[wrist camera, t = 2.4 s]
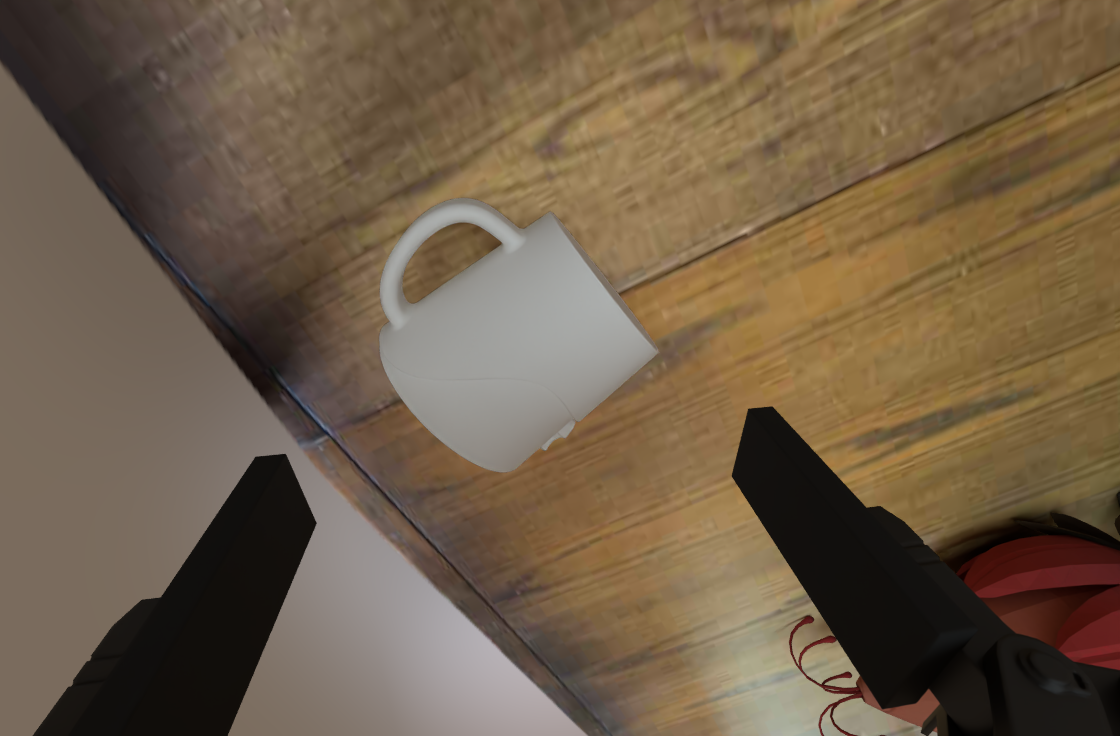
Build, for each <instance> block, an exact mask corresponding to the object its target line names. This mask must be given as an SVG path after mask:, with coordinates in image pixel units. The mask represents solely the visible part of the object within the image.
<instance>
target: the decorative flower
mask: <svg viewBox="0 0 1120 736" xmlns="http://www.w3.org/2000/svg"><path fill="white" fill-rule="evenodd" d="M1051 515H1052V518H1053V520H1054V522H1055V523H1056V525H1057V526H1058V527H1055V526H1051V525H1046V524H1041V523H1035V522H1026V521H1015V522H1017V523H1019V524H1021V525H1023V526H1025V527H1028V528H1030V529H1032V530H1035V531H1038V532H1042V533H1045V534H1048V535H1043V536H1035V537H1028V538H1021V539H1017V540H1013V541H1010V542H1007V543H1003V544H1000V545H997V546H995V547H993V548H991V549H990V550H988V551H987V552H985V553H982V554H979V555H977V556H976V557H974V558H973V559H971V560H969V561H968V562H966V563H965V564H963V565H962V566H961V568H960V569H959V571H958V572H957V574H956V575H957V576H958V577H959V578H960V579H961V580H962V581H963V582H964V583H965V584H966V585H967V586H968V587H969V588H970V589H971V590H972V591H973V592H974V593H975V594H976V595H977V596H978V597H979V598H980V599H981V600H982V601H983V602H984V603H985V604H986V605H987V606H988V607H989V608H990V609H991V610H992V611H993V612H994V613H995V614H996V615H997V616H998V617H999V618H1000V619H1001V620H1002V621H1003V622H1004V623H1005V624H1006V625H1007V626H1008V627H1009V628H1011V629H1012V630H1013V631H1014V632H1015V633H1016V634H1023V635H1026V636H1030V637H1033V638H1037V639H1039V640H1041V641H1043V642H1045V643H1046V644H1048V645H1050V646H1052V647H1054V648H1056V649H1057V650H1059V651H1060V652H1061V653H1063V654H1064V655H1065V656H1067V657H1068V658H1069V659H1071V660H1072V661H1074V662H1080V663H1085V664H1090V665H1096V666H1101V667H1106V668H1112V669H1117V670H1120V542H1119V541H1118V540H1116V539H1115V538H1113V537H1112V536H1110V535H1109V534H1107V533H1105V532H1103V531H1101V530H1099V529H1097V528H1095V527H1093V526H1091V525H1089V524H1087V523H1085V522H1083V521H1081V520H1078V519H1076V518H1073V517H1071V516H1068V515H1065V514H1058V513H1051ZM1115 527H1116V529H1117V531H1118V533H1119V535H1120V515H1119V516H1118V517H1117V518H1116V519H1115ZM813 621H814V618H813V617H811V616H807V617H806V618H805V619H803V620H802V621H801V622H800V623H798V624H797V625H796V626H795V628H794V629H793V631H792V632H791V635H790V640H789V645H790V652H791V655H792V657H793V659H794V662H795V664H796V666H797V667H798V668H799V669H800V670H801V672H802V673H803V674H804V675H805V676H806V678H807V679H809V680H810V681H812V682H814V683H815V684H817V685H819V686H820V687H822V688H823V689H824V690H825V691H827V692H831V693H835V694H854V695H851V696H849V697H846V698H843V699H840V700H839V701H838V702H835V703H833V704H830V705H828V707H827V708H826V709H825V710H824V712H823V713H822V714H821V716H820V720H819V729H820V733H821V735H822V736H824V735H823V733H822V729H821V721H822V717H823V715H824V714H825V713H826V712H827V711H828V709H829V708H830V707H832V706H833V707H832V709H831V714H830V718H831V720H832V723H833V725H834V726H835V727H836V728H837V729H838V730H839V731H840V732H842V733H844V734H845V735H847V736H858V735H853V734H850V733H848V732H846V731H844V730H842V729H840V728H839V727H838V726H837V725H836V724H835V722H834V720H833V717H832V715H833V711H834V709H835V708H836V707H837V706H838V705H839V704H840V703H842V702H845V701H848V700H850V699H855V698H862V699H863V701H864V702H865V703H867V704H869V705H871V706H873V707H875V708H877V709H879V710H881V711H883V712H885V713H887V714H890V715H892V716H895V717H897V718H900V719H902V720H905V721H907V722H910V723H912V724H915V725H917V726H920V727H922V725H923V722H924V721H925V720H926V719H927V718H928V717H929V716H930V714H931V713H932V712H933V711H934V710H935V709H936V708H937V707H938V706H939V704H940V703H939V702H938V700H937V699H936V698H935V696H934V695H933V694H932V692H931V691H930V690H929V689H928V690H927V692H926V693H925V694H924V695H923V696H922V697H921V699H920V700H919V701H918V702H917V703H916V704H911V705H905V706H900V707H894V708H888V709H883V710H882V709H881V707H880V705H879V704H878V702H877V701H876V699H875V698H874V696H873V695H872V693H871V691H870V690H869V688H868V687H867V685H866V684H865V682H864V681H863V679H862V678H861V676H860V677H859V678H858V680H857V681H856V685H857V687H854V688H841V687H835V686H828V685H824V684H825V683H826V682H828V681H830V680H833V679H837V678H851V677H852V674H851V673H850V672H845V673H843V674H840V675H836V676H833V677H830V678H828V679H826V680H825V681H824V682H823V683H822V684H819V683H818V682H816V681H815V680H813V679H811V678H810V677H808V676H807V675H806V674H805V673H804V671H803V670H802V666H801V659H802V655H803V654H804V653H805V652H806V651H807V649H809V648H811V647H813V646H815V645H817V644H821V643H833V642H835V641H836V640H837V639H836V638H835V637H834V636H827V637H825V638H823V639H820V640H818V641H815V642H813V643H811V644H810V645H808V646H806V647H805V648H804V649H803V651H802V652H801V653H800V657H799V661H798V662H799V666H800V667H799V666H798V664H797V662H796V660H795V657H794V655H793V651H792V644H791V643H792V638H793V634H794V633H795V632H796V630H797V629H798V628H799V627H801V626H802V625H804V624H808V623H812V622H813ZM825 688H827V689H825ZM828 689H833V690H840V691H832V690H828ZM856 690H857V691H856ZM933 731H934V732H937V727H936V728H935V729H934V730H933ZM880 736H885V735H880Z"/></svg>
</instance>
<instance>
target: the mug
mask: <svg viewBox="0 0 1120 736" xmlns="http://www.w3.org/2000/svg"><path fill="white" fill-rule="evenodd" d="M461 222H466V223H472V224H475V225H477V226H479V227H481V228H483V229H484V230H486V231H487V232H489V233H490V234H492V235H493V236H494V237H496V238H497V239H498V240H499V241H501V242H502V244H501V245H500V246H498V247H497V248H495V249H494V250H492V251H491V252H490V253H488V254H487V255H485V256H484V257H482V258H481V259H479V260H478V261H476V262H475V263H474V264H472V265H471V266H469V267H468V268H466V269H465V270H463V271H462V272H460V273H459V274H458V275H456V276H455V277H453V278H452V279H450V280H449V281H447V282H446V283H444V284H443V285H442V286H440V287H439V288H437V289H436V290H434V291H433V292H431V293H430V294H428V295H427V296H426V297H424V298H423V299H421V300H420V301H418V302H417V303H414V304H412V303H409V302H408V301H407V300H406V298H405V296H404V293H403V287H402V282H403V275H404V271H405V268H406V266H407V263H408V262H409V260H410V258H411V257H412V255H413V254H414V253H415V251H416V250H417V249H418V248H419V247H420V246H421V244H422V243H423V242H424V241H425V240H427V239H428V238H429V237H430V236H431V235H433V234H434V233H435V232H437V231H439V230H440V229H442V228H444V227H446V226H449V225H451V224H455V223H461ZM380 300H381V305H382V308H383V311H384V313H385V315H386V317H387V318H388V320H389V322H388V323H386V324H385V325H384V326H383V327H382V329H381V331H380V334H379V343H380V345H379V351H380V357H381V361H382V364H383V367H384V370H385V372H386V374H387V376H388V378H389V380H390V382H391V384H392V385H393V387H394V389H395V390H396V392H397V393H398V395H399V396H400V398H401V399H402V400H403V402H404V403H405V404H406V406H407V407H408V408H409V410H410V411H411V412H412V413H413V414H414V415H415V417H416V418H417V419H418V420H419V421H420V422H421V423H422V424H423V425H424V426H425V427H426V428H427V429H428V430H429V431H430V432H431V433H432V434H433V435H434V436H435V437H437V438H438V439H439V440H440V441H441V442H442V443H444V444H445V445H446V446H447V447H449V448H450V449H451V450H453V451H454V452H456V453H457V454H458V455H460V456H462V457H463V458H465V459H466V460H468V461H470V462H472V463H474V464H476V465H478V466H480V467H482V468H485V469H488V470H491V471H495V472H510V471H513V470H515V469H516V468H518V467H519V466H520V465H521V464H522V463H523V462H524V461H526V460H527V459H528V458H529V457H530V456H531V455H532V454H534V453H535V452H536V451H537V450H538V449H539V448H541V449H542V450H543V451H546V450H547V448H548V446H549V445H550V444H551V443H552V442H553V441H554V440H555V439H557V438H566V437H567V436H568V435H569V433H570V432H571V430H572V429H573V427H574V425H575V421H577V422H580V421H581V420H582V419H583V418H584V417H586V416H587V415H588V414H589V413H590V412H591V411H592V410H594V409H595V408H596V407H597V406H598V405H599V404H600V403H602V402H603V401H604V400H605V399H606V398H607V397H609V396H610V395H611V394H612V393H613V392H614V391H615V390H617V389H618V388H619V387H620V386H621V385H622V384H623V383H625V382H626V381H627V380H628V379H629V378H630V377H632V376H633V375H634V374H635V373H636V372H637V371H638V370H640V369H641V368H642V367H643V366H644V365H645V364H646V363H648V362H649V361H650V360H651V359H652V358H653V357H655V356H656V355H657V354H658V353H659V350H658V348H657V346H656V345H655V343H654V342H653V340H652V339H651V337H650V336H649V334H648V333H647V332H646V330H645V329H644V327H643V326H642V325H641V323H640V322H639V321H638V319H637V318H636V316H635V315H634V314H633V312H632V311H631V310H630V308H629V307H628V306H627V305H626V303H625V302H624V301H623V299H622V298H621V297H620V295H619V294H618V293H617V291H616V290H615V289H614V288H613V286H612V285H611V284H610V282H609V281H608V280H607V279H606V277H605V276H604V275H603V273H602V272H601V271H600V270H599V268H598V267H597V266H596V265H595V263H594V262H593V261H592V259H591V258H590V257H589V256H588V254H587V253H586V252H585V251H584V249H583V248H582V247H581V246H580V244H579V243H578V242H577V241H576V239H575V238H574V237H573V236H572V235H571V233H570V232H569V231H568V230H567V228H566V227H565V226H564V225H563V224H562V222H561V221H560V220H559V219H558V218H557V217H556V216H555V215H554V213H552V212H551V211H550V212H548V213H546V214H545V215H543V216H542V217H541V218H539V219H538V220H536V221H535V222H533V223H532V224H530V225H529V226H527V227H526V228H524V229H520V228H518V227H517V226H516V225H515V224H513V223H512V222H511V221H510V220H509V219H507V218H506V217H505V216H504V215H502V214H501V213H500V212H498V211H497V210H496V209H494V208H493V207H491V206H490V205H488V204H486V203H484V202H482V201H479V200H476V199H471V198H456V199H451V200H447V201H444V202H442V203H439V204H437V205H435V206H434V207H432V208H430V209H429V210H427V211H426V212H424V213H423V214H422V215H421V216H419V217H418V218H417V219H416V220H415V221H414V222H413V223H412V224H411V225H410V226H409V227H408V229H407V230H406V231H405V232H404V234H403V235H402V236H401V238H400V239H399V241H398V242H397V244H396V245H395V247H394V249H393V250H392V252H391V254H390V256H389V258H388V260H387V262H386V264H385V267H384V270H383V273H382V277H381V281H380ZM573 418H574V419H573Z"/></svg>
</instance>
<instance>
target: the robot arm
mask: <svg viewBox="0 0 1120 736" xmlns="http://www.w3.org/2000/svg"><path fill="white" fill-rule="evenodd" d="M732 478H733V479H734V481H735V482H736V484H737V485H738V487H739V488H740V490H741V492H742V493H743V495H744V496H745V498H746V499H747V501H748V502H749V504H750V505H751V507H752V509H753V510H754V512H755V513H756V515H757V516H758V518H759V519H760V521H761V523H762V524H763V526H764V527H765V529H766V530H767V532H768V533H769V535H770V536H771V538H772V540H773V541H774V543H775V544H776V546H777V547H778V549H779V550H780V552H781V554H782V555H783V557H784V558H785V560H786V561H787V563H788V564H789V566H790V567H791V569H792V571H793V572H794V574H795V575H796V577H797V578H798V580H799V581H800V583H801V585H802V586H803V588H804V589H805V591H806V592H807V594H808V595H809V597H810V598H811V600H812V602H813V603H814V605H815V606H816V608H817V609H818V611H819V612H820V614H821V616H822V617H823V619H824V620H825V622H826V623H827V625H828V626H829V628H830V629H831V631H832V633H833V634H834V636H835V637H836V639H837V640H838V642H839V643H840V645H841V647H842V648H843V650H844V651H845V653H846V654H847V656H848V657H849V659H850V660H851V662H852V664H853V665H854V667H855V668H856V670H857V671H858V673H859V674H860V676H861V678H862V679H863V681H864V682H865V684H866V685H867V687H868V688H869V690H870V691H871V693H872V695H873V696H874V698H875V699H876V701H877V702H878V704H879V705H880V707H881V709H882V710H883V709H888V708H894V707H900V706H905V705H911V704H916V703H917V702H918V701H919V700H920V699H921V697H922V696H923V695H924V694H925V693H926V692H927V690H928V689H929V690H930V691H931V692H932V694H933V695H934V696H935V698H936V699H937V700H938V702H939V703H940V704H939V706H938V707H937V708H936V709H935V710H934V711H933V712H932V713H931V714H930V716H929V717H928V718H927V719H926V720H925V721H924V722H923V725H922V730H921V733H922V734H924V735H926V736H928V735H929V734H930V733H931V732H932V731H933V730H934V729H935V728H936V727H937V734H938V736H1120V670H1117V669H1112V668H1106V667H1101V666H1096V665H1090V664H1085V663H1080V662H1074V661H1072V660H1071V659H1069V658H1068V657H1067V656H1065V655H1064V654H1063V653H1061V652H1060V651H1059V650H1057V649H1056V648H1054V647H1052V646H1050V645H1048V644H1046V643H1045V642H1043V641H1041V640H1039V639H1037V638H1033V637H1030V636H1026V635H1023V634H1016V633H1015V632H1014V631H1013V630H1012V629H1011V628H1009V627H1008V626H1007V625H1006V624H1005V623H1004V622H1003V621H1002V620H1001V619H1000V618H999V617H998V616H997V615H996V614H995V613H994V612H993V611H992V610H991V609H990V608H989V607H988V606H987V605H986V604H985V603H984V602H983V601H982V600H981V599H980V598H979V597H978V596H977V595H976V594H975V593H974V592H973V591H972V590H971V589H970V588H969V587H968V586H967V585H966V584H965V583H964V582H963V581H962V580H961V579H960V578H959V577H958V576H957V575H956V574H955V573H954V572H953V571H952V570H951V569H950V568H949V567H948V566H947V564H946V563H945V562H941V561H940V559H939V556H938V555H937V554H936V553H935V552H934V551H933V550H932V549H931V548H930V547H929V546H928V545H924V543H923V540H922V539H921V538H920V537H919V536H918V535H917V534H916V533H915V532H914V531H913V530H912V529H911V528H910V527H909V526H908V525H907V524H906V523H905V522H904V521H902V520H901V519H899V518H898V517H896V516H895V515H893V514H892V513H890V512H888V511H887V510H885V509H884V508H882V507H881V506H876V507H868V508H866V507H865V506H864V504H863V503H862V502H861V501H860V500H859V499H858V498H857V497H856V496H855V495H854V494H853V493H852V492H851V490H850V489H849V488H848V487H847V486H846V485H845V484H844V483H843V482H842V481H841V480H840V479H839V478H838V477H837V475H836V474H835V473H834V472H833V471H832V470H831V469H830V468H829V467H828V466H827V465H826V464H825V463H824V461H823V460H822V459H821V458H820V457H819V456H818V455H817V454H816V453H815V452H814V451H813V450H812V449H811V447H810V446H809V445H808V444H807V443H806V442H805V441H804V440H803V439H802V438H801V437H800V436H799V435H798V433H797V432H796V431H795V430H794V429H793V428H792V427H791V426H790V425H789V424H788V423H787V422H786V421H785V420H784V418H783V417H782V416H781V415H780V414H779V413H778V412H777V411H776V410H775V409H774V408H773V407H762V408H751V409H748V412H747V416H746V420H745V424H744V428H743V432H742V436H741V440H740V444H739V448H738V452H737V457H736V461H735V465H734V469H733V473H732ZM316 524H317V523H316V521H315V519H314V516H313V514H312V512H311V510H310V507H309V505H308V503H307V500H306V498H305V496H304V494H303V491H302V489H301V487H300V485H299V482H298V480H297V478H296V476H295V473H294V471H293V469H292V467H291V465H290V462H289V460H288V458H287V455H286V454H280V455H269V456H259V457H255V458H254V460H253V461H252V463H251V464H250V466H249V467H248V469H247V470H246V472H245V473H244V475H243V476H242V478H241V479H240V481H239V482H238V484H237V485H236V487H235V488H234V490H233V491H232V493H231V494H230V496H229V497H228V499H227V500H226V501H225V503H224V504H223V506H222V507H221V509H220V510H219V512H218V514H217V515H216V516H215V518H214V519H213V521H212V522H211V524H210V525H209V527H208V528H207V530H206V531H205V533H204V534H203V536H202V537H201V539H200V540H199V542H198V543H197V545H196V546H195V548H194V549H193V551H192V552H191V554H190V555H189V557H188V558H187V559H186V561H185V562H184V564H183V565H182V567H181V568H180V570H179V571H178V573H177V574H176V576H175V577H174V579H173V580H172V582H171V583H170V585H169V586H168V588H167V589H166V591H165V592H164V594H163V595H162V597H161V598H153V599H145V600H141V601H140V602H139V603H138V604H136V605H135V606H134V607H133V608H132V609H131V610H130V611H129V612H128V613H126V614H125V615H124V616H123V617H122V618H121V619H120V620H119V621H118V622H117V623H116V624H114V625H113V626H112V628H111V629H110V630H109V632H108V633H107V635H106V636H105V637H104V639H103V640H102V641H101V643H100V644H99V645H98V647H97V648H96V650H95V651H94V652H93V654H92V655H91V656H92V657H91V660H90V661H87V662H86V663H85V665H84V666H83V667H82V669H81V670H80V672H79V673H78V674H77V676H76V677H75V679H74V680H73V685H72V686H71V687H68V688H67V689H66V691H65V692H64V693H63V695H62V696H61V698H60V699H59V700H58V702H57V703H56V705H55V706H54V707H53V709H52V710H51V711H50V713H49V714H48V715H47V717H46V718H45V720H44V721H43V722H42V724H41V725H40V726H39V728H38V729H37V730H36V732H35V733H34V735H33V736H228V733H229V731H230V729H231V726H232V724H233V722H234V719H235V717H236V714H237V712H238V710H239V707H240V705H241V702H242V700H243V698H244V695H245V693H246V691H247V688H248V686H249V683H250V681H251V678H252V676H253V674H254V671H255V669H256V666H257V664H258V662H259V660H260V657H261V655H262V652H263V650H264V648H265V645H266V643H267V641H268V638H269V635H270V633H271V631H272V629H273V626H274V624H275V621H276V619H277V616H278V614H279V612H280V609H281V607H282V605H283V602H284V600H285V598H286V595H287V593H288V590H289V588H290V586H291V583H292V581H293V579H294V576H295V574H296V571H297V569H298V567H299V564H300V562H301V559H302V557H303V555H304V552H305V549H306V548H307V545H308V543H309V540H310V538H311V535H312V533H313V531H314V529H315V526H316Z"/></svg>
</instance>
